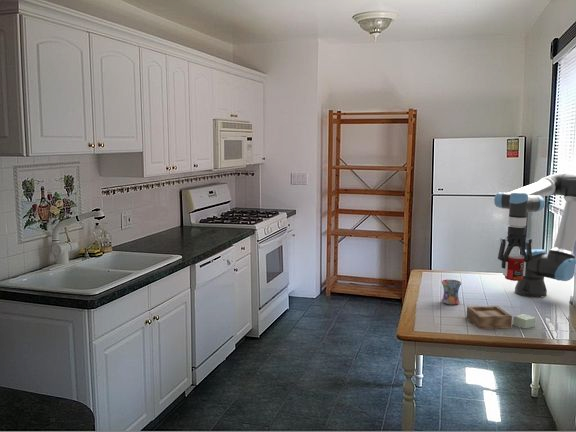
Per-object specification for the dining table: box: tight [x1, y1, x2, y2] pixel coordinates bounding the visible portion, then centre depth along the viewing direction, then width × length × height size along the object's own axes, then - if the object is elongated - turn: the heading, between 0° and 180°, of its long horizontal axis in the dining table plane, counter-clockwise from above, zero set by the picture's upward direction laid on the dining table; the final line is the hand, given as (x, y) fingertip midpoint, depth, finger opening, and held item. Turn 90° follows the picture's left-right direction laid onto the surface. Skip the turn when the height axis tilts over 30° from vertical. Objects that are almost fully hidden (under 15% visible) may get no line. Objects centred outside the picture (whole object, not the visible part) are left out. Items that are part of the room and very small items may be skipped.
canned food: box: [504, 253, 524, 282], centre depth 250 cm, size 8×8×11 cm
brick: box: [513, 313, 536, 329], centre depth 235 cm, size 6×6×4 cm
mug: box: [441, 279, 462, 306], centre depth 267 cm, size 12×9×11 cm
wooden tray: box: [466, 305, 513, 329], centre depth 238 cm, size 14×14×5 cm
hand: (513, 275), depth 251 cm, fingers closed on canned food, 8 cm apart
